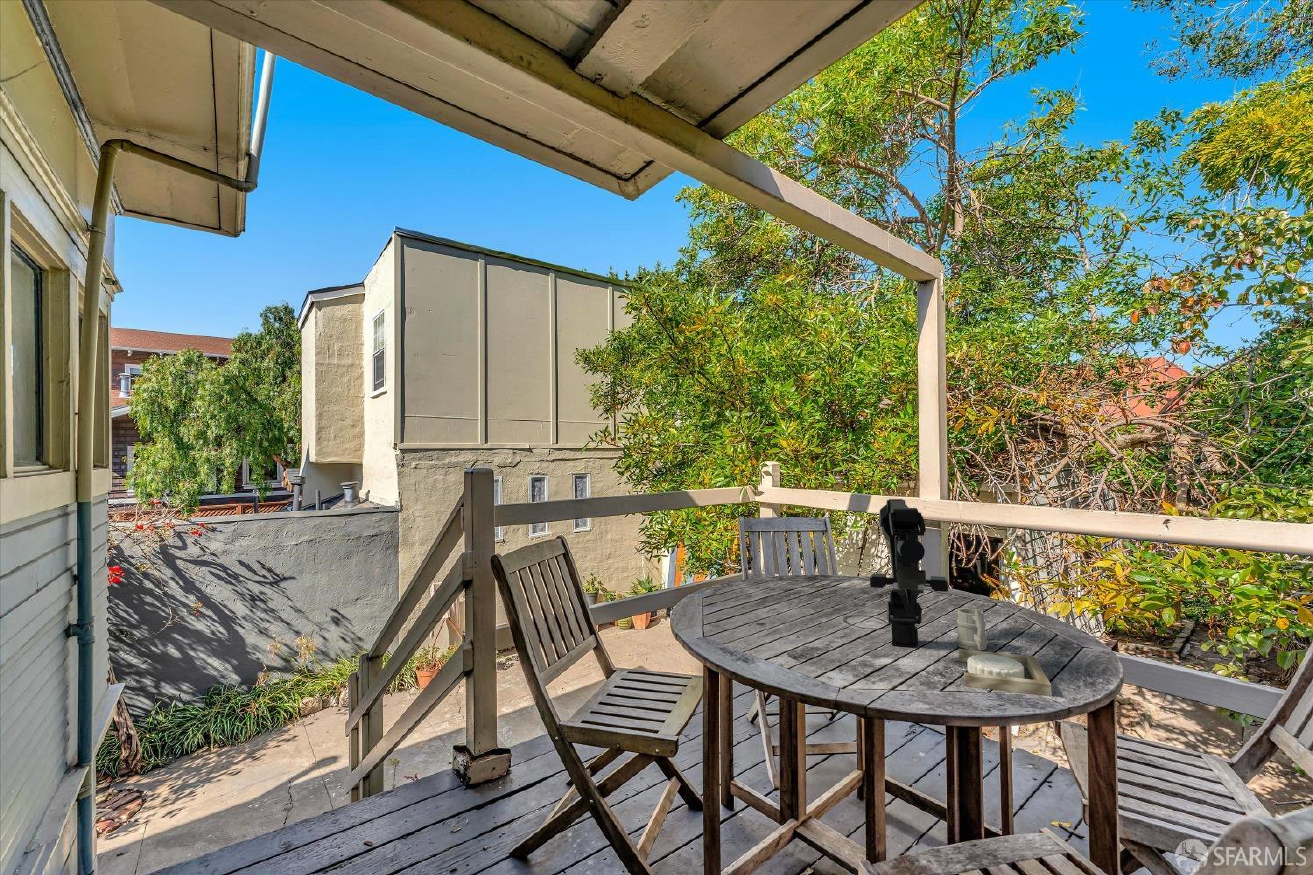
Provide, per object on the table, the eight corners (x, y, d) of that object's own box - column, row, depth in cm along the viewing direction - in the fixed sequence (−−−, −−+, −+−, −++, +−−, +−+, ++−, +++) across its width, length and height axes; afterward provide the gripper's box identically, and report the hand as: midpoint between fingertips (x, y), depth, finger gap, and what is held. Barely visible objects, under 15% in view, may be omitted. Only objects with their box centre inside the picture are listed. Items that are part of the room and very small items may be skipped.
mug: (981, 642, 164) (979, 600, 165) (999, 656, 153) (996, 611, 153) (952, 641, 166) (950, 599, 166) (968, 656, 154) (966, 611, 154)
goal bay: (965, 685, 135) (964, 675, 135) (959, 658, 152) (958, 649, 152) (1051, 696, 128) (1051, 684, 128) (1035, 666, 145) (1034, 656, 146)
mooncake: (999, 664, 148) (998, 650, 148) (1037, 682, 136) (1036, 667, 136) (957, 668, 146) (956, 654, 146) (991, 687, 134) (991, 671, 135)
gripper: (867, 559, 149) (870, 620, 149) (948, 562, 142) (951, 626, 141) (870, 552, 159) (872, 609, 159) (945, 554, 152) (948, 614, 151)
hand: (909, 614), depth 152 cm, fingers closed
